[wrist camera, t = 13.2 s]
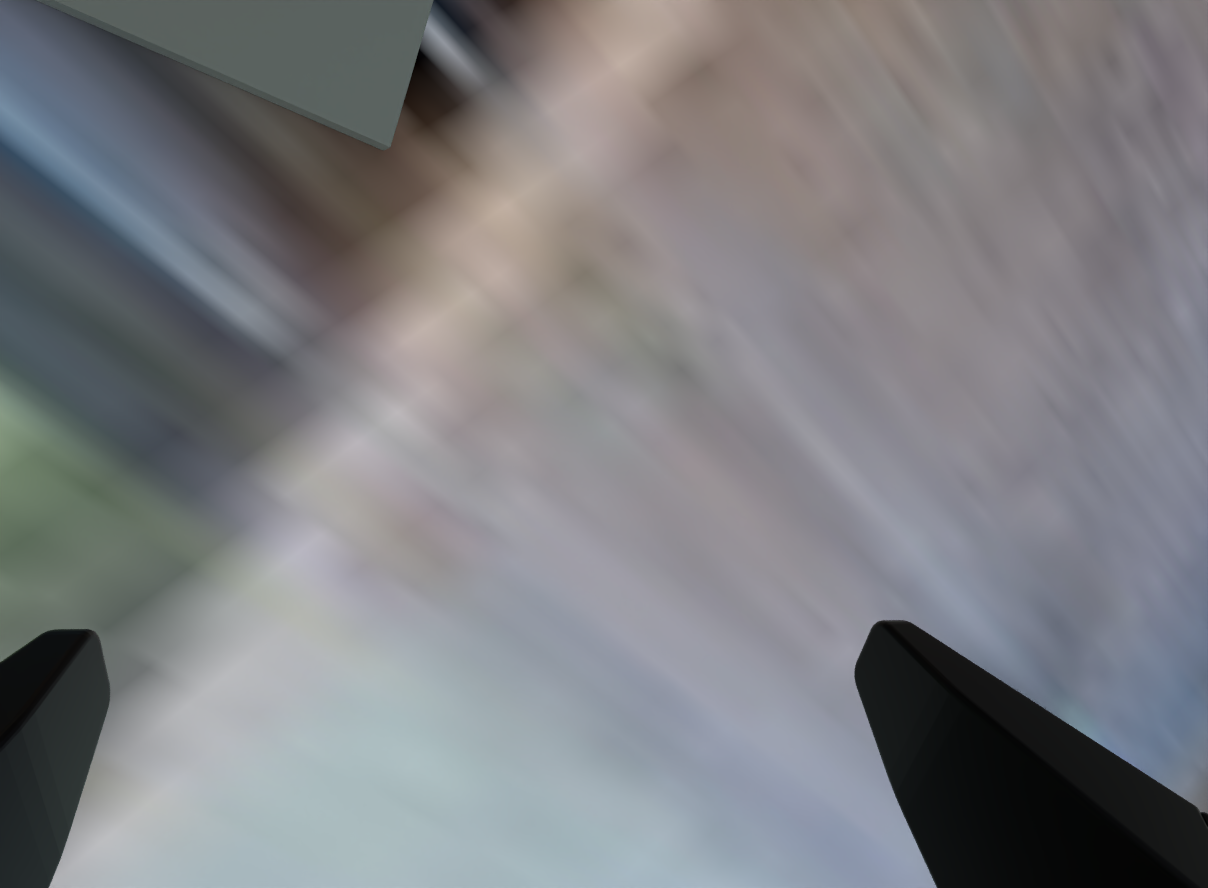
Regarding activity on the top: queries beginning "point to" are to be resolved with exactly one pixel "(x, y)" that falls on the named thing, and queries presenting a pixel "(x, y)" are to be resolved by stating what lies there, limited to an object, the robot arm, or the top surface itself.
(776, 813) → the top surface
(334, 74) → the dock
